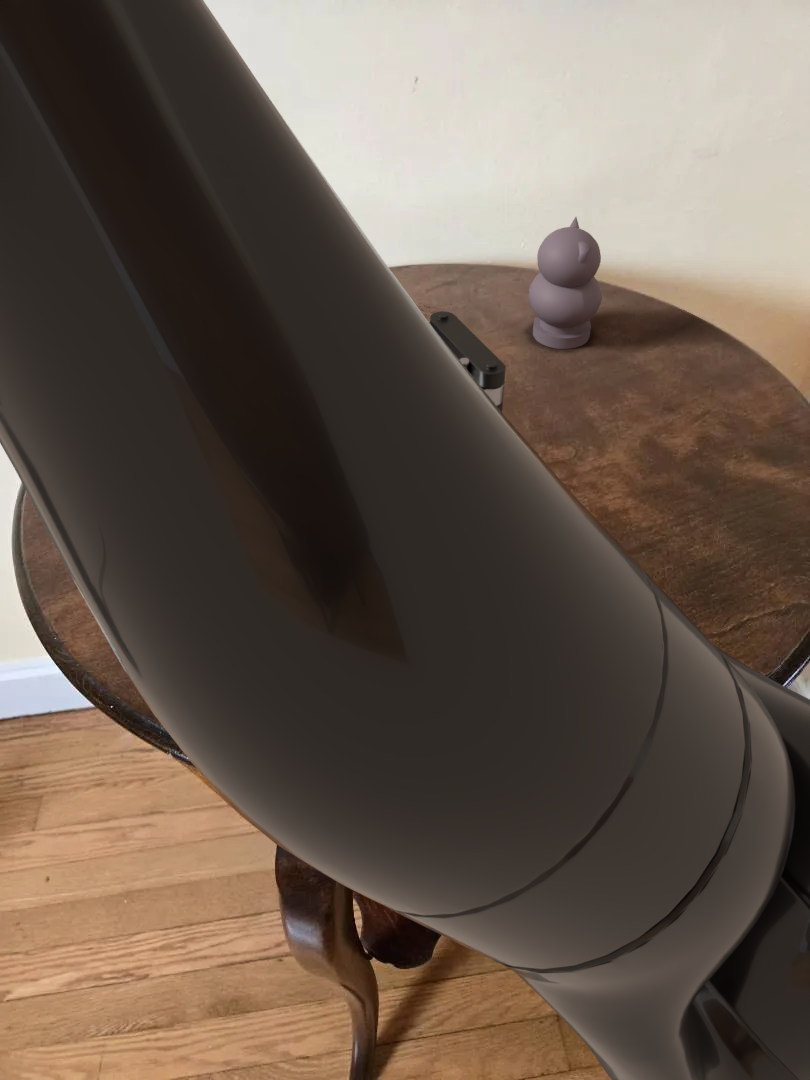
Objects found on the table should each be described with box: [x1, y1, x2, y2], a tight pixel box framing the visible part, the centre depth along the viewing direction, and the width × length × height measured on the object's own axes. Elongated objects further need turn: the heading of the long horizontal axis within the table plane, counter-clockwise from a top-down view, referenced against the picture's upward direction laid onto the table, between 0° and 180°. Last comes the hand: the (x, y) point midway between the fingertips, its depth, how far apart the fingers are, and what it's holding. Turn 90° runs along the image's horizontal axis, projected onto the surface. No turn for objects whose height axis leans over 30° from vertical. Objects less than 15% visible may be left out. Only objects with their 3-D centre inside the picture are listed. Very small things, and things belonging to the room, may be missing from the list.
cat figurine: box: [528, 216, 603, 350], centre depth 91 cm, size 8×8×12 cm
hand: (276, 327), depth 41 cm, fingers open, 8 cm apart
